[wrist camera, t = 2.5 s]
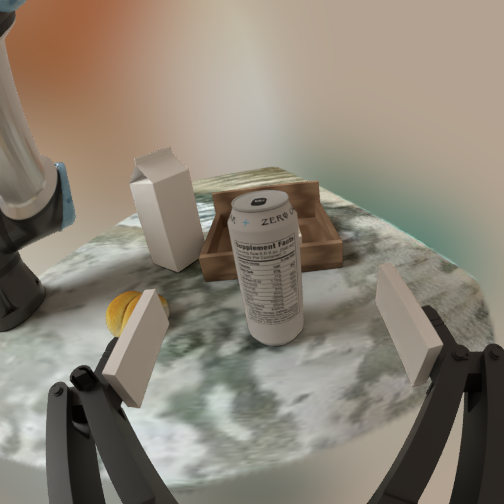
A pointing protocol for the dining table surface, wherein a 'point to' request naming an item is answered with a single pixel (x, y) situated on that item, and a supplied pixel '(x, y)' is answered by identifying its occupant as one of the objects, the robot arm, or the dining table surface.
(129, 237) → the dining table surface
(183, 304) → the dining table surface
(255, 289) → the energy drink can
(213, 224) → the walled box
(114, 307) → the bread roll
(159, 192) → the milk carton
